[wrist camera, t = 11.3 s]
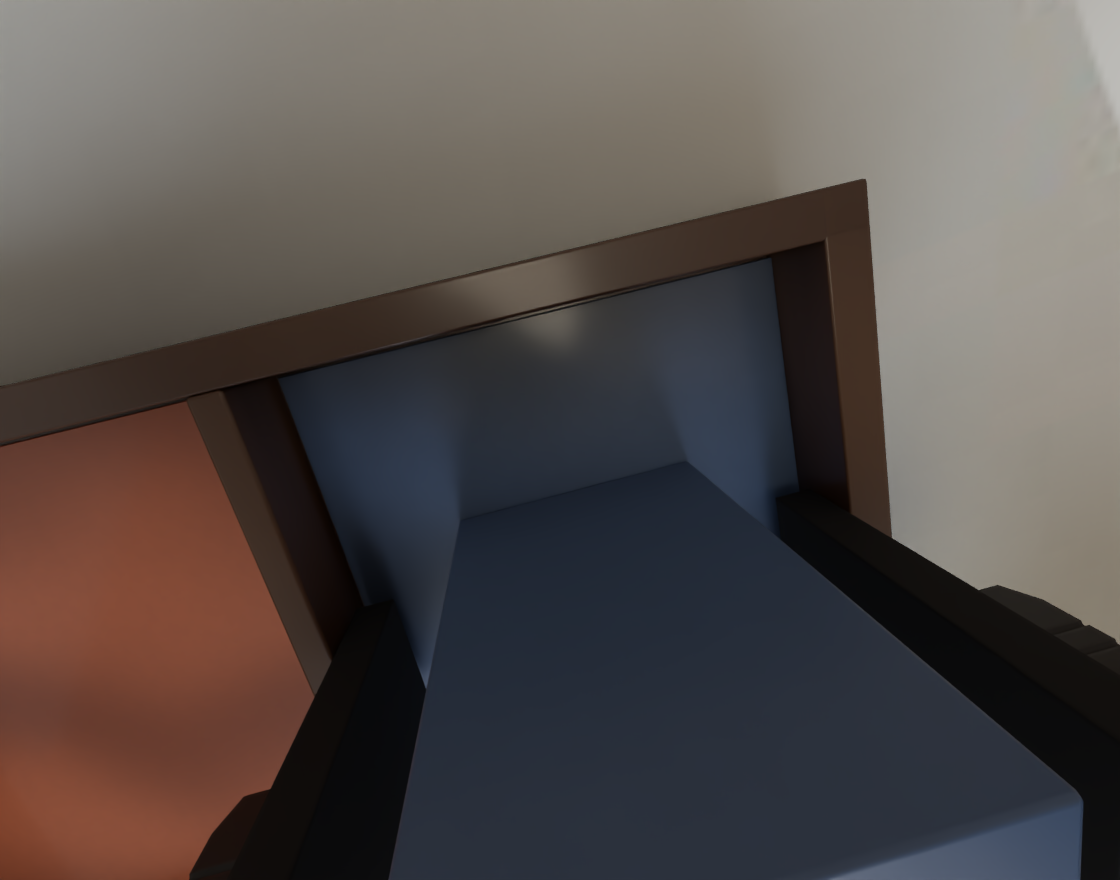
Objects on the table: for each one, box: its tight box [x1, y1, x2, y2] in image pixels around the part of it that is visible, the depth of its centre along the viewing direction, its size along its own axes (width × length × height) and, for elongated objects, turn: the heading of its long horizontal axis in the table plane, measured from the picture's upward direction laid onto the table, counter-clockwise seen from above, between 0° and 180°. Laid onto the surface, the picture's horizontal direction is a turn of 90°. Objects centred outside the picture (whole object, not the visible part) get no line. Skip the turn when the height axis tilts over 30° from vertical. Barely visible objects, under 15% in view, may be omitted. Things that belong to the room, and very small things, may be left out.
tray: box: [0, 179, 892, 880], centre depth 11 cm, size 14×22×3 cm, turn 103°
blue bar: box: [388, 462, 1083, 880], centre depth 8 cm, size 5×5×8 cm
